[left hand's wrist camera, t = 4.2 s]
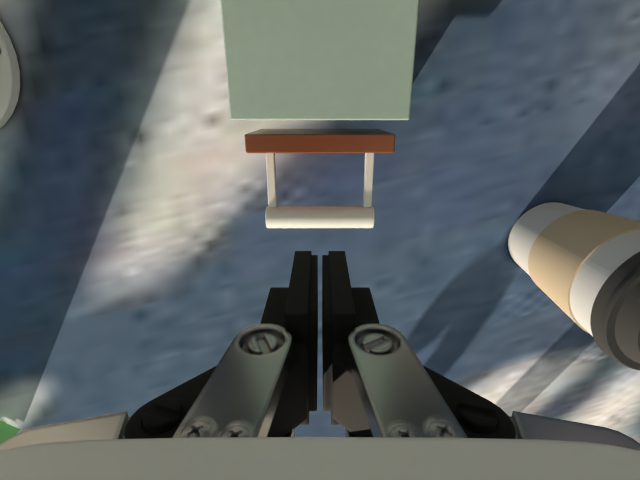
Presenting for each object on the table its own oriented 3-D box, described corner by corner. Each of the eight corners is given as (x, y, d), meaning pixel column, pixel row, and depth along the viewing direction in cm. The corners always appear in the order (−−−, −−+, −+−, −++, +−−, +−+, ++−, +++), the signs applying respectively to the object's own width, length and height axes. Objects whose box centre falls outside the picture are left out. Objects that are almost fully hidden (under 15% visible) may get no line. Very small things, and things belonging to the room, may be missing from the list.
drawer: (374, 214, 32) (388, 240, 25) (265, 214, 32) (251, 240, 25) (393, -128, 24) (420, -218, 17) (246, -128, 24) (219, -217, 17)
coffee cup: (609, 243, 34) (817, 338, 20) (524, 296, 36) (658, 417, 22) (567, 169, 31) (770, 217, 17) (478, 230, 33) (595, 318, 19)
